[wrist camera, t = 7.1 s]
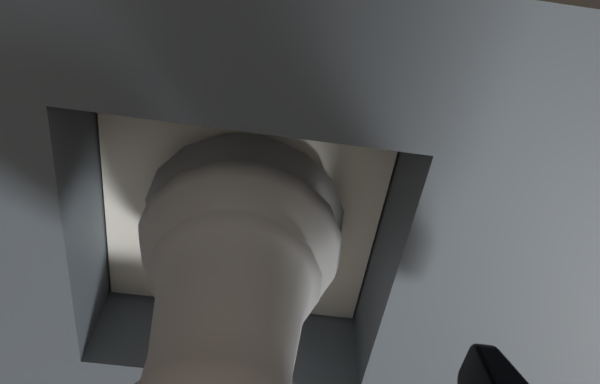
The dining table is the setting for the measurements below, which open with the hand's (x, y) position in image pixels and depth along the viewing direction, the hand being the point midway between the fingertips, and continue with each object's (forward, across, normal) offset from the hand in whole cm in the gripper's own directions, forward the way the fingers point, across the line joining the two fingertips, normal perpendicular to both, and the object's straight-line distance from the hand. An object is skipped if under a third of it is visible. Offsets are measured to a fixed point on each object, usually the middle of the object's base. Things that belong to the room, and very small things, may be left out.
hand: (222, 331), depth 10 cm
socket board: (+4, 0, 0) cm, 4 cm away
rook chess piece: (+4, 0, 0) cm, 4 cm away
